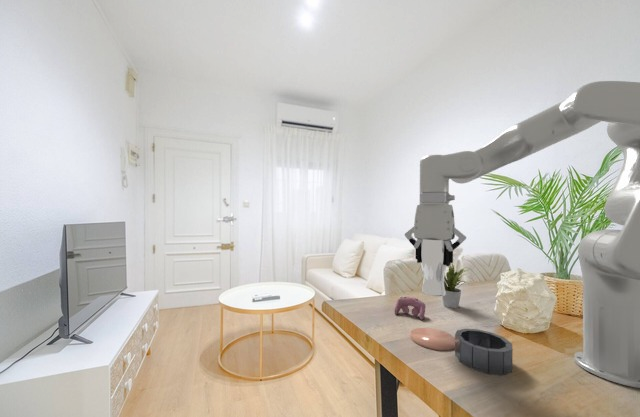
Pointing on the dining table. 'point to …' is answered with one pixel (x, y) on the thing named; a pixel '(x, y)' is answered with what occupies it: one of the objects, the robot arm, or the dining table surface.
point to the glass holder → (483, 351)
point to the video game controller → (410, 301)
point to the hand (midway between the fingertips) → (433, 263)
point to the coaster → (433, 339)
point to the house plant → (452, 288)
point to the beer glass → (433, 266)
